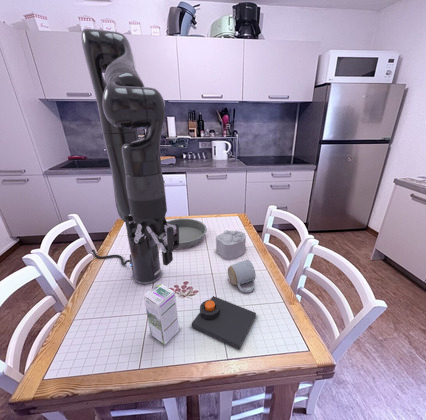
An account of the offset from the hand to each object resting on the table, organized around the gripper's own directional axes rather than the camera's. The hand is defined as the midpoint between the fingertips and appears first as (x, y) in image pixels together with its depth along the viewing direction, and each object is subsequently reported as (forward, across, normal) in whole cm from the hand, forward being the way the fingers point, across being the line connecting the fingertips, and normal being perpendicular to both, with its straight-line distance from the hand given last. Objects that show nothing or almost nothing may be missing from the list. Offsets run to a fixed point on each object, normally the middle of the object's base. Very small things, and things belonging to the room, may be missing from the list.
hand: (155, 258), depth 56 cm
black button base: (+25, -13, -11) cm, 30 cm away
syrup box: (+25, 0, 0) cm, 25 cm away
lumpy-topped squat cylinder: (+25, +2, -46) cm, 52 cm away
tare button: (+22, -8, -11) cm, 26 cm away
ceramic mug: (+25, -11, -29) cm, 40 cm away
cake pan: (+25, +29, -45) cm, 59 cm away
